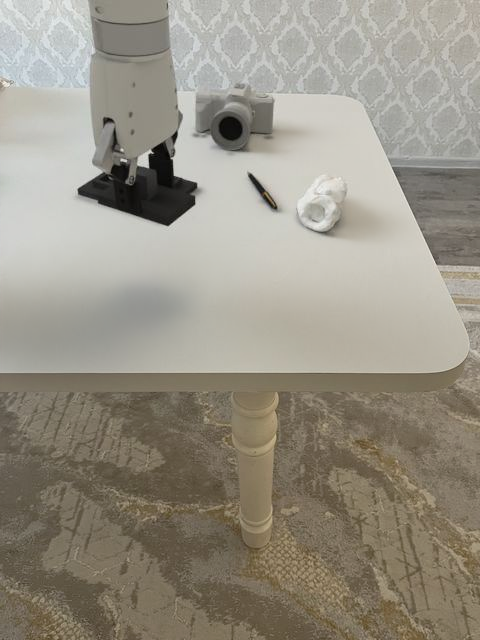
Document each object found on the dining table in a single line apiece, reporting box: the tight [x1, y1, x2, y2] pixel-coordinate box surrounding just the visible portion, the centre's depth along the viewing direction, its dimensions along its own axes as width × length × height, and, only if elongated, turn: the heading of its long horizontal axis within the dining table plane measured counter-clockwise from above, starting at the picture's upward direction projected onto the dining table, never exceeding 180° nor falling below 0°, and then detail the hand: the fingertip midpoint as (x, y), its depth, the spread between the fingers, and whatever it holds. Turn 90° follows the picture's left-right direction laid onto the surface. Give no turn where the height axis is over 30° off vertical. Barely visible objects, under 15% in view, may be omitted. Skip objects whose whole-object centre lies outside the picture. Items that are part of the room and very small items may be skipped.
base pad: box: [77, 160, 198, 201], centre depth 100 cm, size 16×12×2 cm
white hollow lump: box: [295, 173, 348, 232], centre depth 95 cm, size 9×12×8 cm
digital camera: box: [194, 82, 276, 152], centre depth 116 cm, size 17×14×10 cm
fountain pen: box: [246, 170, 278, 211], centre depth 101 cm, size 14×1×2 cm, turn 21°
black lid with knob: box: [96, 165, 196, 227], centre depth 70 cm, size 10×6×4 cm, turn 63°
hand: (146, 197), depth 71 cm, fingers closed on black lid with knob, 6 cm apart
